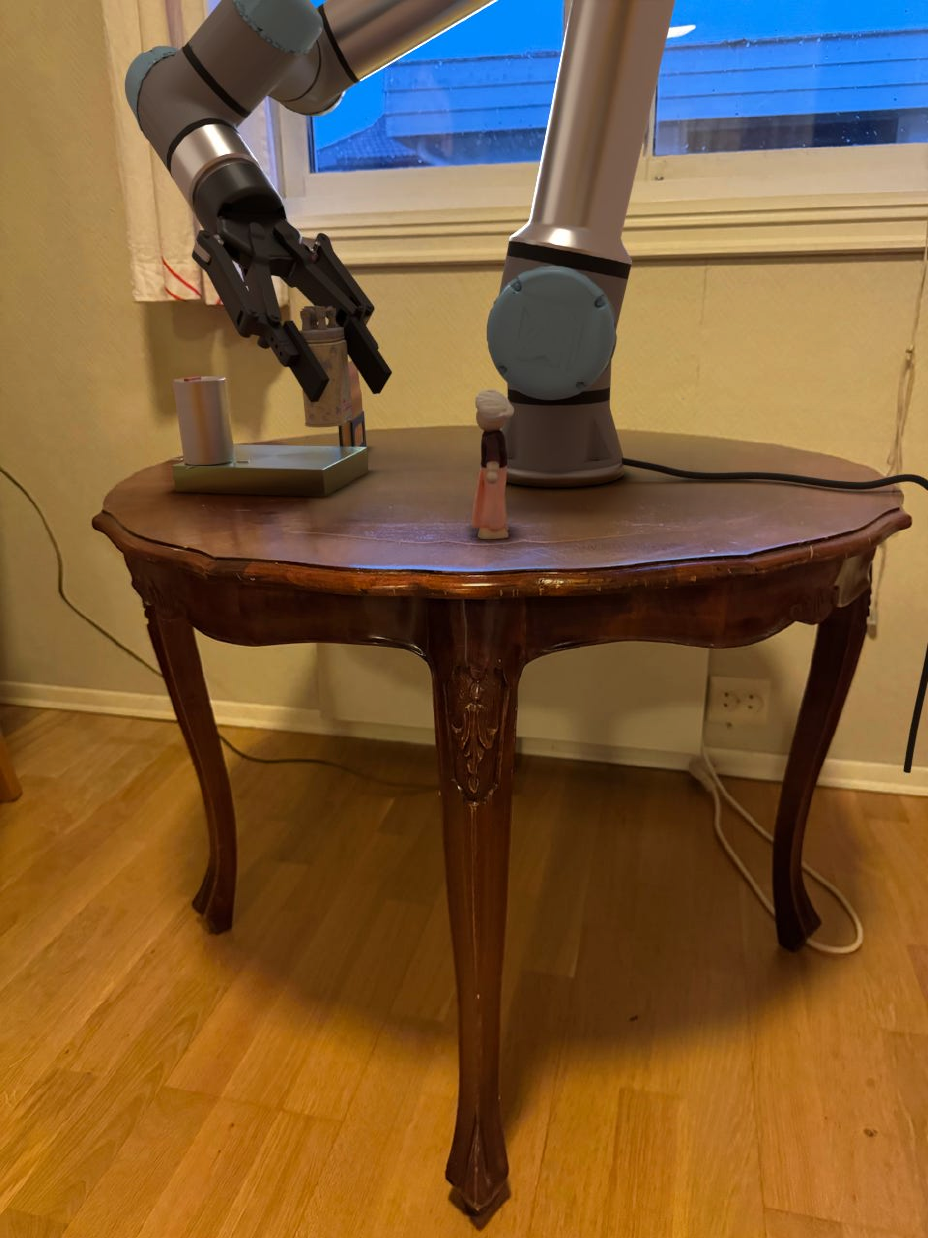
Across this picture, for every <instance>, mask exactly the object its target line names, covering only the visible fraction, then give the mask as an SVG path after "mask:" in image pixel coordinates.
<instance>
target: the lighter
mask: <svg viewBox="0 0 928 1238" xmlns="http://www.w3.org/2000/svg"><path fill="white" fill-rule="evenodd" d="M326 312H327V315H328V319H327V318H326ZM335 316H336V308H333V307H331V306H329V307H327V309H325V307H319V306H314V305H305V306H303V307H302V308H301V310H299V317H300V319H301V330H299V331H300V333H301V334H302V336H303V338H304V339H305V341H306V342H307V344H308V346H309V347H310V349H311V350H312V352H313V354H314V355H315V357H316V358H317V360H318V362H319V363H320V365H321V366H322V368H323V370H324V371H325V373H326V374H327V376H328V377H329V379H330V380H329V382H328V384H327V386H326V387H325V389H324V391H323V393H322V395H321V397H320V399H319V401H318V402H310V400H309V399H308V397H307V395H306V394H305V392H304V391H303V390H302V399H303V410H304V421H305V422H304V426H305V427H307V428H333V427H338V426H340V425H344V424H345V423H348V422H352V418H353V415H352V407H351V394H350V380H349V367H348V362H349V355H348V353H347V341H346V340H344V338H345V337H344V328H343V327H339V326H338V324H337V323H336V319H335ZM326 319H327V320H328V321H327V320H326Z"/></svg>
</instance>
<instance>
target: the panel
mask: <svg viewBox="0 0 928 1238" xmlns="http://www.w3.org/2000/svg"><path fill="white" fill-rule="evenodd" d="M233 446H234V455H235V459H234V460H233V461H231V462H227V463H222V464H214V465H189V464H186V463H184V459H183V458H170V459H169V461H175V462H179V461H180V462H179V463H176V464H173V465H171V468H172V475H173V483H174V489H175V490H174V491H175V493H191V494H192V493H193V494H219V495H220V494H221V495H222V494H223V495H250V496H251V495H252V496H253V495H254V496H279V497H280V496H282V497H309V498H310V497H311V498H326V497H328V496H329V495H331V494H333V493H334V492H336V491H338V490H339V489H341V488H343V487H345V486H346V485H348V484H350V483H352V482H353V481H355V480H357V479H359V478H360V477H362V476H364V475H365V474H367V473H368V472H370V471H369V455H368V447H340V445H339V446H338V445H337V446H335V445H332V446H331V445H288V444H287V445H283V444H281V445H280V444H279V445H278V444H236V443H235V444H234V443H233Z"/></svg>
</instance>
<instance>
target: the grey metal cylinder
mask: <svg viewBox="0 0 928 1238" xmlns="http://www.w3.org/2000/svg"><path fill="white" fill-rule="evenodd" d="M172 384H173V392H174V399H175V406H176V407H175V408H176V415H177V421H178V429H179V436H180V442H181V450H182V457H183V458H182V459H183V462H184V463H186V464H189V465H214V464H222V463H227V462H231V461H233V460H234V459H235V455H234V446H233V444H234V438H233V430H232V423H231V422H232V420H231V412H230V404H229V395H228V387H227V378H226V377H225V376H214V375H213V376H210V375H209V376H201V375H195V376H190V377H181V378H175V379H173V380H172Z"/></svg>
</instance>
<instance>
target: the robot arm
mask: <svg viewBox="0 0 928 1238" xmlns="http://www.w3.org/2000/svg"><path fill="white" fill-rule="evenodd" d="M311 1H312V0H220V1H219V2H218V4H217V5H216V6H215V7H214V9H213V10H212V11H211V12H210V13H209V15H208V16H207V17H206V18H205V20H204V21H203V23H202V24H201V25H200V26H199V27H198V29H196V31H195V32H194V33H193V35H192V36H191V37H190V39H189V40H188V41H187V42H186V43H185V45H184V46H181V48H180V49H179V48H176V47H174V46H171V45H157V46H156V45H155V46H153V47H152V48H151V49H150V50H148V51H146V52H140V53H139V54H138V55H137V56H135V58H134V59H133V60H132V62H131V63H130V65H129V66H128V69H127V71H126V73H125V77H124V78H125V79H124V94H125V98H126V101H127V104H128V105H129V107H130V110H131V112H132V113H133V115H134V118H135V120H136V122H137V125H138V127H139V130H140V131H141V132H142V135H143V136H144V137H145V139H146V141H148V142H149V143H150V145H151V147H152V148H153V150H154V151H155V153H156V154H157V156H158V158H159V159H160V161H161V162H162V164H163V166H164V167H165V168H166V170H167V172H168V173H169V175H170V177H171V178H172V180H173V181H174V184H175V185H176V187H177V189H178V190H179V191H180V193H181V195H182V197H183V198H184V200H185V202H186V203H187V204H188V206H189V208H190V209H191V211H192V212H193V213H194V215H195V217H196V219H197V221H198V222H199V224H200V226H201V228H202V229H199V231H198V233H197V235H196V239H195V242H194V245H193V249H192V252H191V258H192V260H193V261H195V263H197V265H198V266H199V267H200V268H201V269H202V270H203V271H204V272H205V273H206V275H207V276H208V279H209V280H210V282H211V284H212V286H213V288H214V290H215V292H216V294H217V295H218V297H219V299H220V302H221V303H222V305H223V307H224V309H225V311H226V314H227V315H228V316H229V318H230V321H231V322H232V324H233V326H234V328H235V330H236V332H237V334H238V335H239V336H240V337H242V338H244V339H250V338H251V337H252V336H256V337H258V339H257V342H256V344H257V345H258V347H260V348H261V349H264V350H268V349H271V350H272V352H273V354H274V355H275V357H276V358H277V360H278V362H279V364H280V365H282V366H283V367H284V368H289V370H290V372H291V373H292V375H293V376H294V378H295V379H296V381H297V382H298V384H299V386H300V387H301V389H302V392H303V391H304V392H305V394H306V395H307V397H308V399H309V400H310V402H318V401H319V399H320V397H321V395H322V393H323V391H324V389H325V387H326V386H327V384H328V382H329V380H330V379H329V377H328V376H327V374H326V373H325V371H324V370H323V368H322V366H321V365H320V363H319V362H318V360H317V358H316V357H315V355H314V354H313V352H312V350H311V349H310V347H309V346H308V344H307V342H306V341H305V339H304V338H303V336H302V334H301V333H300V330H299V328H298V326H297V325H296V323H295V322H294V320H284V322H283V324H282V321H283V316H282V312H281V309H280V305H279V304H280V303H279V301H278V297H277V293H276V289H275V285H274V282H273V278H272V277H278V278H280V279H281V280H282V282H284V284H286V286H288V287H289V288H290V289H291V288H292V289H293V288H296V289H297V290H298V291H299V292H300V293H301V294H302V295H303V296H304V297H305V298H306V300H308V301H309V302H310V303H311V304H312V306H319V307H325V309H327V307H329V306H331V307H333V308H336V316H335V319H336V323H337V324H338V326H339V327H343V328H344V337H345V338H344V340H346V341H347V353H348V358H349V359H350V361H352V362H353V363H354V365H355V366H356V368H357V369H358V373H359V375H360V376H361V378H362V379H363V381H364V382H365V384H366V385H367V387H368V388H369V390H370V392H371V393H372V394H373V395H379V394H381V392H382V391H383V389H384V388H385V386H386V384H387V383H388V380H390V378H391V376H392V374H393V371H392V369H391V368H390V366H389V365H388V364H387V362H386V360H385V358H384V357H383V355H382V354H381V353H380V351H379V347H380V346H379V343H378V342H377V340H376V339H375V337H374V335H373V334H372V332H371V331H370V330H369V328H368V326H367V325H368V323H369V321H370V320H371V317H372V316H373V313H374V311H375V310H376V308H375V305H374V304H373V303H372V301H371V300H370V298H369V297H368V296H367V294H366V292H364V291H363V289H362V288H361V286H360V285H359V284H358V282H357V281H356V279H355V278H354V277H353V275H352V274H351V273H350V271H349V270H348V269H347V267H346V266H345V264H344V263H343V261H342V260H341V259H340V258H339V256H338V255H337V253H335V251H334V248H333V245H332V241H331V238H330V237H329V236H328V235H327V234H326V233H323V232H318V233H317V234H316V237H315V239H314V238H311V237H306V236H302V234H301V232H300V230H299V229H297V228H296V227H295V226H294V225H293V224H291V223H290V222H289V220H288V217H287V213H286V209H285V204H284V201H283V199H282V197H281V195H280V193H279V192H278V190H277V189H276V187H275V186H274V185H273V183H272V181H271V179H270V178H269V177H268V176H267V173H266V172H265V171H264V170H263V168H262V166H261V164H260V163H259V161H258V160H257V157H256V156H255V155H254V153H253V152H252V151H251V149H250V147H249V146H248V144H247V143H246V142H245V140H244V138H243V137H242V136H241V134H240V132H239V131H238V128H239V127H240V126H241V124H242V123H244V121H245V120H246V119H247V118H249V116H250V115H251V114H252V113H253V112H254V111H255V110H256V109H257V108H258V107H259V106H260V105H261V103H262V102H263V101H264V100H266V98H267V97H268V98H271V99H272V100H274V101H276V102H278V103H279V104H280V105H281V106H283V107H284V108H285V109H287V111H288V110H289V111H290V112H293V113H296V114H299V115H301V116H308V117H312V118H314V117H316V118H317V117H318V118H319V117H323V116H325V115H328V114H330V113H332V112H333V111H334V110H335V109H336V108H338V106H339V105H340V103H341V102H342V100H343V98H344V96H345V95H346V91H347V90H349V89H351V88H352V87H354V86H355V85H357V84H358V83H360V82H362V81H363V80H365V79H368V78H369V77H371V76H372V75H374V74H375V73H378V72H379V71H381V70H382V69H384V68H386V67H387V66H389V65H391V64H393V63H394V62H396V61H397V60H399V59H401V58H402V57H404V56H406V55H407V54H409V53H411V52H412V51H414V50H416V49H418V48H420V47H421V46H423V45H425V44H426V43H428V42H429V41H431V40H432V39H433V40H434V39H435V38H436V37H438V36H440V35H441V34H443V33H445V32H447V31H448V30H450V29H451V28H454V27H455V26H456V25H458V24H460V23H462V22H464V21H466V20H467V19H468V18H470V17H472V16H474V15H475V14H477V13H479V12H480V11H482V10H483V9H485V8H487V7H489V6H490V5H492V4H494V3H495V2H497V1H498V0H325V1H324V2H323V3H321V4H319V5H318V6H317V7H316V6H315V5H314V4H313V2H311ZM675 5H676V0H571V2H570V6H569V7H570V8H569V13H568V18H567V23H566V28H565V34H564V39H563V43H562V49H561V54H560V60H559V64H558V65H559V66H558V69H557V74H556V80H555V86H554V91H553V96H552V101H551V106H550V112H549V117H548V122H547V127H546V131H545V132H546V133H545V138H544V143H543V147H542V154H541V158H540V163H539V164H540V165H539V169H538V174H537V180H536V184H535V189H534V195H533V201H532V206H531V212H530V216H529V220H528V221H527V222H526V224H525V225H524V226H522V227H521V228H520V229H519V230H517V231H516V232H514V233H513V234H512V235H511V236H509V239H508V245H507V251H506V255H505V260H504V266H503V270H502V277H501V281H500V287H499V291H498V296H497V297H496V299H495V300H494V301H493V304H492V307H491V308H490V311H489V313H488V318H487V323H486V342H487V349H488V352H489V356H490V358H491V361H492V363H493V365H494V367H495V369H496V371H497V372H498V374H499V375H500V377H501V378H502V379H503V380H504V381H505V382H506V387H507V388H506V390H507V391H506V392H507V394H506V395H507V396H506V397H507V398H508V400H509V402H510V404H511V405H512V407H513V408H514V414H513V415H512V416H511V417H510V418H506V420H505V424H504V426H503V427H502V428H501V429H500V430H501V431H502V433H503V435H504V437H505V444H506V451H507V467H506V483H509V484H514V485H519V486H528V487H541V488H542V487H543V488H573V487H587V486H593V485H594V486H595V485H601V484H606V483H610V482H613V481H616V480H618V479H620V478H622V477H623V476H624V467H625V466H626V467H632V468H638V469H641V470H648V471H653V472H656V473H660V474H665V475H669V476H673V477H678V478H681V479H690V480H702V481H733V480H734V481H735V480H737V481H738V480H761V481H763V480H764V481H775V482H776V481H779V482H787V483H794V484H801V485H808V486H815V487H821V488H829V489H838V490H839V489H840V490H854V491H866V490H872V489H873V490H874V489H879V488H883V487H888V486H891V485H894V484H900V483H908V482H909V483H914V484H917V485H919V486H921V487H922V488H923V489H925V490H926V491H928V479H927V478H925V477H924V476H922V475H918V474H913V473H903V474H896V475H892V476H889V477H883V478H880V479H879V478H878V479H875V480H869V481H847V480H836V479H834V480H833V479H826V478H819V477H813V476H812V477H811V476H805V475H799V474H789V473H780V472H768V471H766V472H765V471H734V472H732V471H731V472H704V471H703V472H702V471H691V470H685V469H684V470H683V469H679V468H678V469H677V468H674V467H669V466H666V465H662V464H657V463H652V462H649V461H642V460H637V459H632V458H627V457H624V453H623V450H622V446H621V443H620V439H619V435H618V431H617V429H616V424H615V422H614V418H613V414H612V410H611V386H612V384H611V382H612V359H613V357H614V354H615V350H616V347H617V339H618V336H617V328H618V324H619V320H620V316H621V311H622V308H623V303H624V299H625V295H626V291H627V285H628V281H629V279H630V278H629V277H630V273H631V268H632V264H633V260H632V258H631V257H630V255H629V253H628V251H627V248H626V247H625V246H624V244H623V239H622V235H623V231H624V226H625V222H626V217H627V213H628V209H629V204H630V201H631V196H632V192H633V187H634V183H635V179H636V174H637V169H638V165H639V161H640V156H641V152H642V148H643V143H644V140H645V135H646V130H647V127H648V122H649V118H650V113H651V109H652V104H653V100H654V96H655V92H656V88H657V83H658V78H659V74H660V69H661V65H662V61H663V57H664V52H665V48H666V44H667V40H668V35H669V30H670V26H671V21H672V18H673V13H674V8H675ZM235 264H236V265H238V266H237V267H238V268H239V269H240V272H241V274H240V272H239V271H238V269H237V267H236V265H235ZM325 319H327V320H328V315H327V312H326V318H325ZM925 650H926V651H925V656H924V660H923V665H922V670H921V674H920V675H921V676H920V679H919V684H918V688H917V694H916V697H915V698H916V699H915V703H914V708H913V713H912V717H911V723H910V728H909V732H908V739H907V743H906V749H905V756H904V762H903V768H902V769H903V770H902V772H904V773H905V774H910V773H911V772H912V766H913V760H914V754H915V753H914V752H915V748H916V742H917V737H918V731H919V725H920V721H921V716H922V711H923V707H924V702H925V696H926V692H927V688H928V643H927V645H926V649H925ZM911 774H912V773H911Z"/></svg>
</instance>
